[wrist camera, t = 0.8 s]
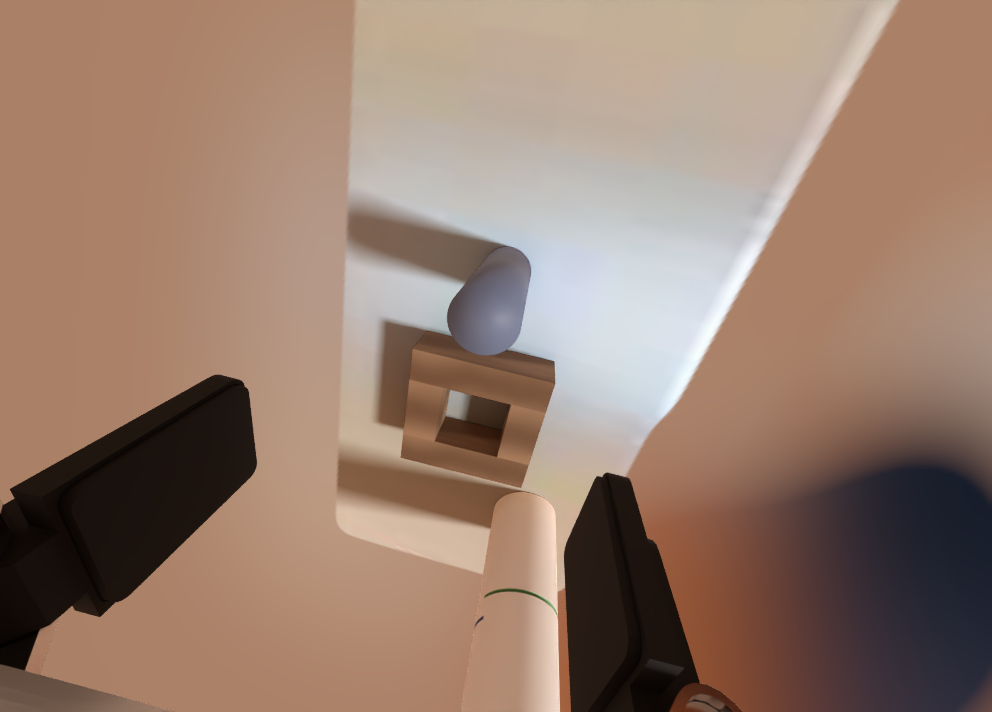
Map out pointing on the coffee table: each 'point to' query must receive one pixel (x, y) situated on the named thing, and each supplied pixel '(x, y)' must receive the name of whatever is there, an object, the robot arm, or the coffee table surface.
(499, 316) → the peg
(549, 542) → the cylindrical container
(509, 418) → the socket block
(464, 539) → the coffee table surface
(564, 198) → the coffee table surface
